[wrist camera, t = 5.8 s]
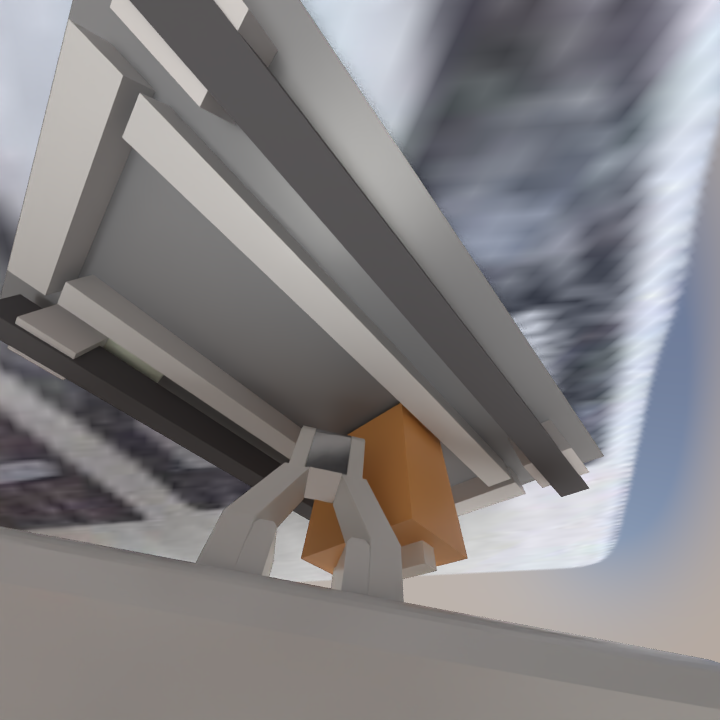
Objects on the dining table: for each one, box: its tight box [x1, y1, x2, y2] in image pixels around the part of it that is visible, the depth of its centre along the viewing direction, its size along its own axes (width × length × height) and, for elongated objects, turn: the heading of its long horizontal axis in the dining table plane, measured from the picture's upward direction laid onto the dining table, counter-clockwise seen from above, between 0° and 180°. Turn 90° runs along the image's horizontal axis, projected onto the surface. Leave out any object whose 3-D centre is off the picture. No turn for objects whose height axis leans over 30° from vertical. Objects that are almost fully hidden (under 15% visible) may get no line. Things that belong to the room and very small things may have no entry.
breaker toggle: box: [301, 403, 467, 586], centre depth 11 cm, size 5×3×6 cm, turn 133°
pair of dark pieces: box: [0, 0, 589, 520], centre depth 11 cm, size 13×22×1 cm, turn 43°
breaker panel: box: [0, 0, 604, 516], centre depth 12 cm, size 16×24×4 cm, turn 43°
